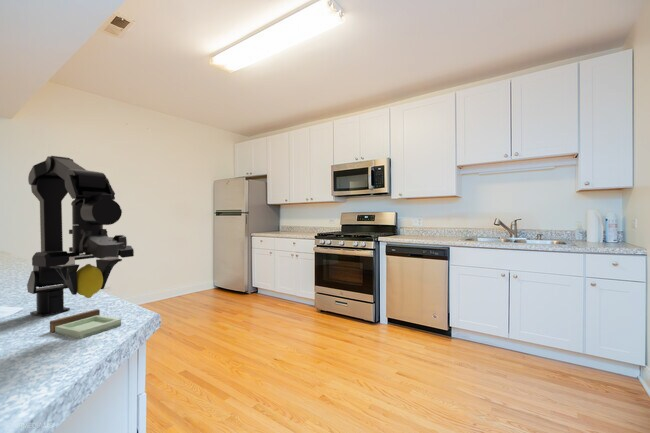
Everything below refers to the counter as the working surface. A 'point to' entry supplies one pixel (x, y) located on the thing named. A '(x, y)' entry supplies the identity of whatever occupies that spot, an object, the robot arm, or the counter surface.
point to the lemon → (89, 280)
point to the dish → (87, 326)
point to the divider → (72, 319)
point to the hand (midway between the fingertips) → (88, 291)
